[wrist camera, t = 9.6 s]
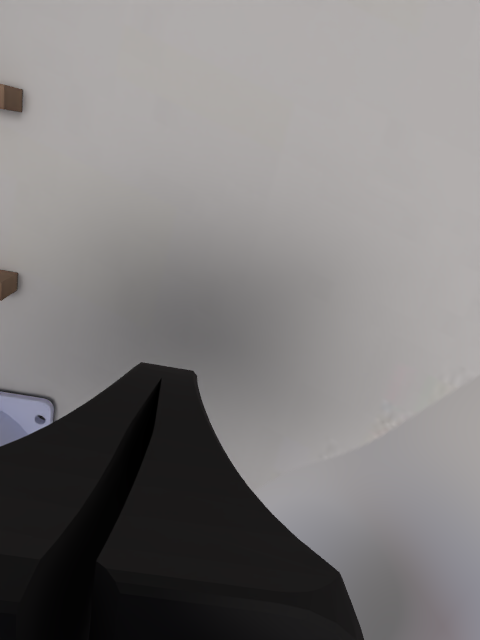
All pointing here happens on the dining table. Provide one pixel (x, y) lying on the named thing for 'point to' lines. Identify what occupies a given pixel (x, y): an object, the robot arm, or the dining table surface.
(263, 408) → the dining table surface
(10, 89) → the slot comb
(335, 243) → the dining table surface
